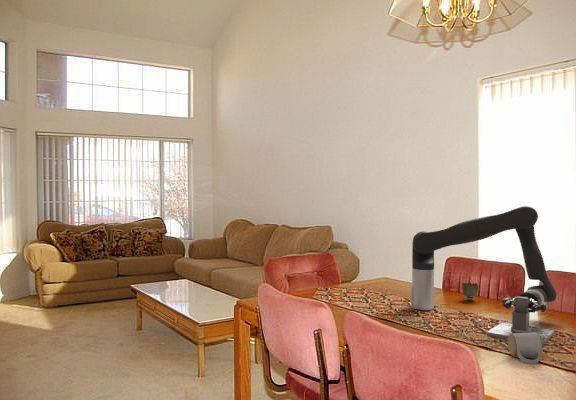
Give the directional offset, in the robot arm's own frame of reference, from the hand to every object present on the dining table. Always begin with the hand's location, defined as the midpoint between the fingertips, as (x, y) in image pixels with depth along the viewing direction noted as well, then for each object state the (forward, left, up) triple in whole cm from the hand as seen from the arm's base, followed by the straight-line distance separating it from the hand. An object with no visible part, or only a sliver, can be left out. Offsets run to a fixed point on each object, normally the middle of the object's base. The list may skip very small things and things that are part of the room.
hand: (519, 307), depth 181 cm
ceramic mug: (-1, -27, -10) cm, 28 cm away
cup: (-15, +58, -10) cm, 61 cm away
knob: (+1, +2, -8) cm, 8 cm away
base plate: (+1, +2, -10) cm, 10 cm away
